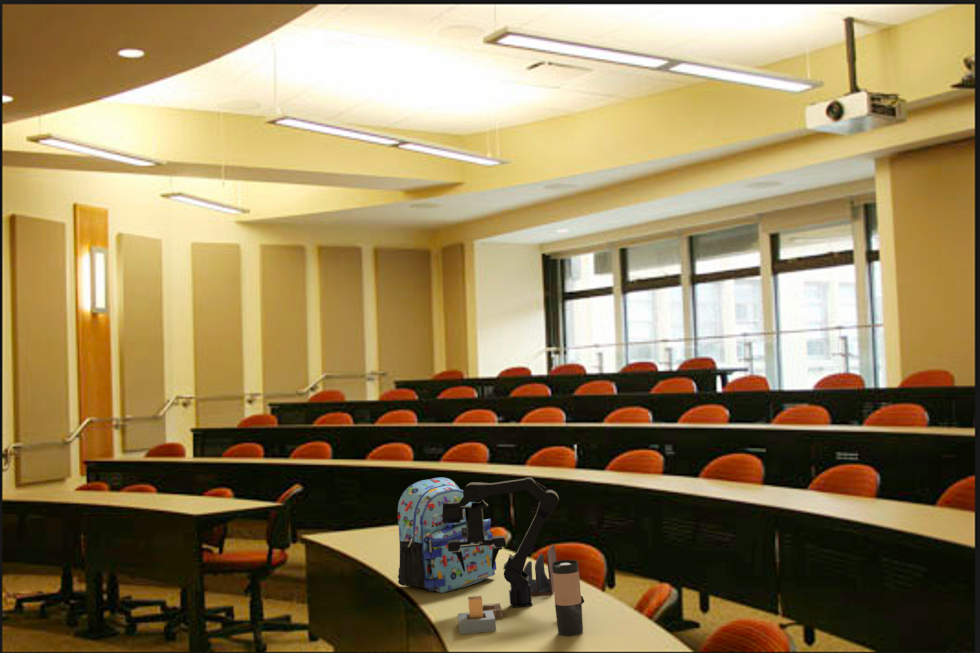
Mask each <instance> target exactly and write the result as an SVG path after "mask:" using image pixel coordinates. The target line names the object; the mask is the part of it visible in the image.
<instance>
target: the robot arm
mask: <svg viewBox="0 0 980 653" xmlns="http://www.w3.org/2000/svg"><path fill="white" fill-rule="evenodd" d="M517 492H518V493H519V492H528V493H529V494H530V495H532V497H534V498H535V499H536V500H538V501H539V503H538V506H537V510H536V513H535V516H534V518H533V519H532V521H531V524H530V526H529V528H528V530H527V531H526V533H525V535H524V537H523V539H522V542H521V543H520V544H519V547H518V549H517V551H516V552H515V553H514V554H511V553H510V554H509V556H508V559H507V561H506V562H505V563H504V565H503V567H502V568H503V570H504V572H503V577H504V580H506V582H507V583H509V585H510V587H509V588H510V589H509V590H508V596H509V597H508V598H509V604H510V605H511V608H520V607H521V608H522V607H531V606H533V602H532V596H531V588H530V584H529V583H528V581H529V575H528V574H526V573H525V572H524V571H523V570H524V568H525V566H526V562H527V558H528V557H529V555H530V552H531V551H532V549H533V547H534V545H535V542H536V540H537V539H538V536H539V535H540V533H541V531H542V528H543V527H544V525H545V523H546V521H547V520H548V519H549V517H550V516H551V515H552V513H553V512H555V510H556V509H557V507H558V505H559V500H560V498H559V495H558V493H557V492H556V491H555V490H553V489H547V488H546V487H545V486H543V485H542V484H541V483H539V482H537V481H536V480H534V478H532V477H530V476H529V477H524V478H519V479H514V480H513V479H512V480H504V481H499V482H498V481H497V482H491V483H489V482H481V481H479V482H476V481H475V482H469V483H467V485H466V486H465V488H464V489H463V498H462V499H460V501H459V502H455V503H448V502H446V503H443V514H442V519H443V524H450V523H461V519H462V520H463V519H464V509H465V515H466V527H465V528H461V530H462V538H467V541H465V542H460V541H459V539H457V540H449V541H448V542H447V544H448V551H449V552H451V551H452V553H453V554H456V555H457V557H458V559H459V561H460V563H461V566H462V568H463V571H464V572H465V566H464V561H463V556H462V552H461V548H463V547H474V546H485V545H492V561H491V565H492V569H493V568H494V564H495V561H496V559H497V556H498V554H499V551H500V550H501V551H502V550H503V547H504V548H505V547H507V544H506V543H507V541H506V538H505V536H504V535H493V536H492V539H487V540H485V534H484V521H483V520H484V512H483V510H484V509H486V508H488V506H489V504H488V503H487V502H485V500H484V499H486V498H489V497H492V496H499V495H504V494H505V495H506V494H512V493H517ZM478 501H479V502H478ZM469 502H475V503H472V504H471V506H465V505H467V504H468V503H469ZM470 543H473V544H470Z"/></svg>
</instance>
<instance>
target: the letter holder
mask: <svg viewBox="0 0 980 653" xmlns="http://www.w3.org/2000/svg"><path fill="white" fill-rule="evenodd" d="M547 551H548V552H547V554H546V563H547V564H546V565H547V573H548V576H547V575H546V571H545V559H544V558H545V557H544V554H543V553H540V554H539V555H538V557H537V558H536V561H535V563H534V573H535V579H534V578H533V562H532V561H531V560H529V561H528V562H527V563H525V566H524V569H523V571H524V572H525V573H526V574H528V575H529V581H528V583H529V584H530V588H531V597H536V596H537V597H538V596H553V595H554V583H553V569H552V563H553V562H556V561H558V560H557V554H556V545H554V544H552V545H551V546H550V547H549V548H548V550H547Z"/></svg>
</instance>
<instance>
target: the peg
mask: <svg viewBox="0 0 980 653" xmlns="http://www.w3.org/2000/svg"><path fill="white" fill-rule="evenodd" d="M467 600H468V613H469V616H470V619H478V618H483V605H484V604H483V597H482V595H477V596H476V595H475V596H474V595H473V596H468V597H467Z"/></svg>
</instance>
